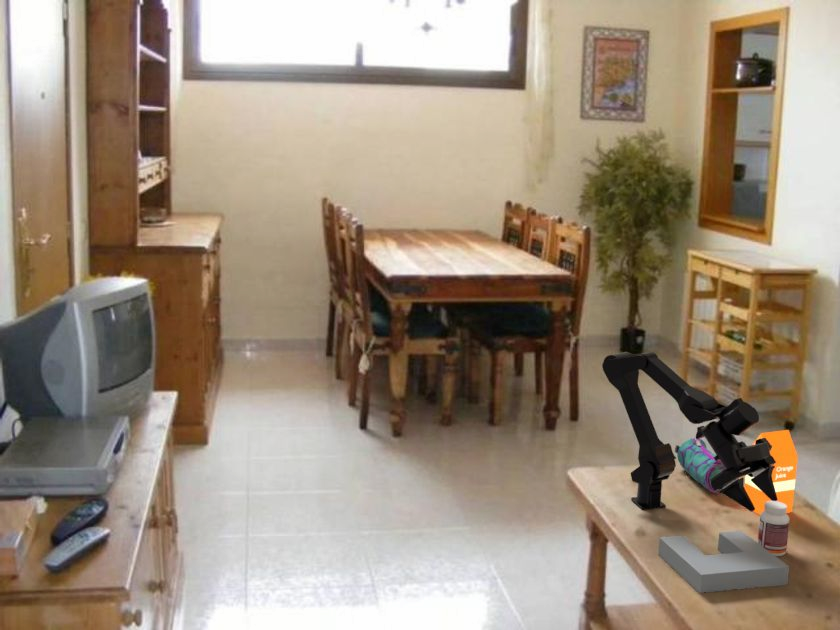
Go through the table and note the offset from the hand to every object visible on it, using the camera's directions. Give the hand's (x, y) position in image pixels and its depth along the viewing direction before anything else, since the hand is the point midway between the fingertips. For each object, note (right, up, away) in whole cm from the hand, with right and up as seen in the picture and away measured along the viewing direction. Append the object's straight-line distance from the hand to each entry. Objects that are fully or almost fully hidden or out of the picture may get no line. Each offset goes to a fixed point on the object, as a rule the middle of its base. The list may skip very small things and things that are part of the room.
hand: (764, 505), depth 220 cm
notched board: (-13, -12, -9) cm, 20 cm away
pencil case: (-2, -2, +42) cm, 42 cm away
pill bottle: (+1, -10, 0) cm, 10 cm away
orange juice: (+9, -6, +24) cm, 26 cm away
